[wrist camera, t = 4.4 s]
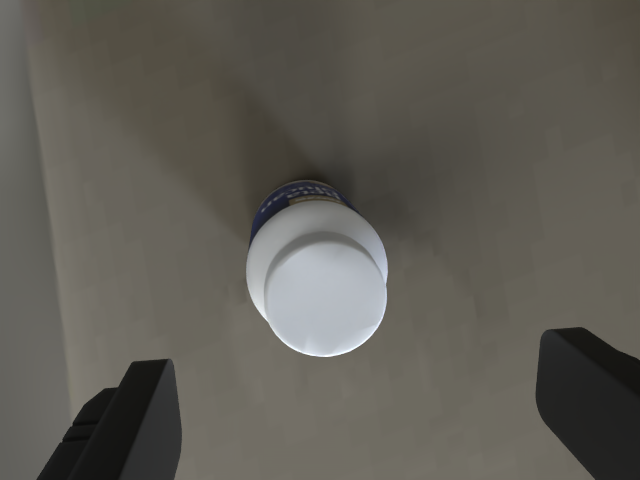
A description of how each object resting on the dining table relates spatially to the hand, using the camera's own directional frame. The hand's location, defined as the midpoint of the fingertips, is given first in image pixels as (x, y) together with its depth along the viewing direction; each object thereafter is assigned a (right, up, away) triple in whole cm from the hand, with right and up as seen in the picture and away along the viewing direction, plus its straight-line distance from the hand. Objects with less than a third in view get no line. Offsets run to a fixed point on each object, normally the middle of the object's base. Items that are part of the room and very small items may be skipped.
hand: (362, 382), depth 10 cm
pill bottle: (-2, +4, +14) cm, 15 cm away
